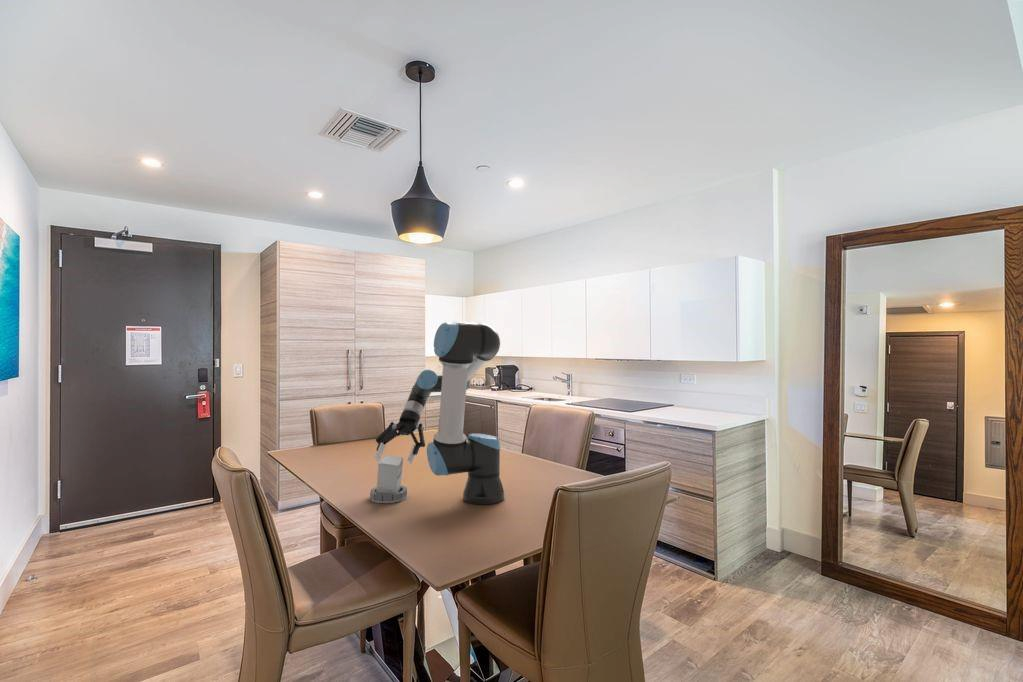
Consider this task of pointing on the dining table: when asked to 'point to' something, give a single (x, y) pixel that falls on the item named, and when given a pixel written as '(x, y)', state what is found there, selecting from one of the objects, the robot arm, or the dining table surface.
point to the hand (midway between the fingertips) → (393, 460)
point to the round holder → (388, 496)
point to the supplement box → (389, 475)
